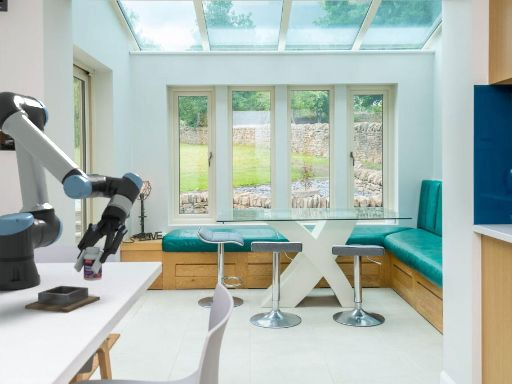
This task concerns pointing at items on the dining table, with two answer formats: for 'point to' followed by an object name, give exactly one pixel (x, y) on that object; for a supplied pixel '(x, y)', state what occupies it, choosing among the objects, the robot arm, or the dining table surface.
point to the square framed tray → (62, 299)
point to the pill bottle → (91, 264)
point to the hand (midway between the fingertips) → (85, 270)
